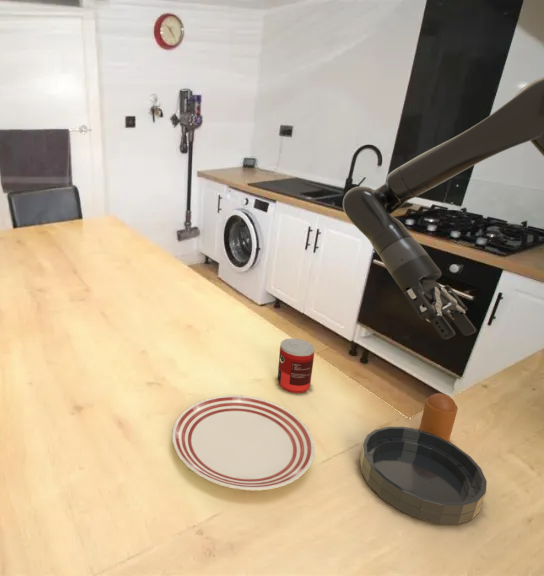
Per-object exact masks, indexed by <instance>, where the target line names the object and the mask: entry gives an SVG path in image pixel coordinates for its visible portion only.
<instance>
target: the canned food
mask: <svg viewBox="0 0 544 576" xmlns="http://www.w3.org/2000/svg"><path fill="white" fill-rule="evenodd" d="M314 357H315V346H314V344H312V343H311V342H309V341H308V340H305V339H301V338H286V339H283V340H281V342H280V346H279V356H278V368H277V384H278V386H279V388H281V389H282V390H284V391H286V392H289V393H292V394H303V393H306V392H308V391H309V389H310V388H311V383H312V373H313V367H314Z"/></svg>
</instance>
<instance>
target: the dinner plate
mask: <svg viewBox="0 0 544 576" xmlns="http://www.w3.org/2000/svg"><path fill="white" fill-rule="evenodd" d="M171 435H172V437H171V438H172V444H173V448H174V450H175V452H176V454H177V456H178V457H179V459H180V461H182V463H183V464H184V465H185V467H187V468H188V469H189V470H191V471H192V472H193V473H195V474H196V475H197V476H200V477H201V478H202V479H205V480H206V481H209V482H211V483H213V484H216V485H218V486H222V487H225V488H230V489H234V490H240V491H269V490H272V489H277V488H281V487H285V486H287V485H289V484H291V483H293V482H295V481H297V480H298V479H300V478H301V477H302V476H304V475H305V474H306V472H308V470H309V468H310V467H311V465H312V463H313V462H314V458H315V453H316V446H315V445H316V444H315V440H314V437H313V435H312V433H311V431H310V430H309V428H308V427H307V425H306V424H305V423H304V422H303V421H302V420H301V418H299V417H298V416H297V415H295V413H293V412H292V411H290V410H289V409H286V408H285V407H283V406H281V405H280V404H277V403H274V402H271V401H269V400H266V399H262V398H259V397H254V396H249V395H234V394H233V395H232V394H231V395H218V396H214V397H209V398H207V399H203V400H200V401H198V402H196V403H193V404H192V405H190V406H189V407H187V408H186V409H185V410H184V411H183V412H181V413H180V415H179V416H178V417H177V419H176V421H175V422H174V425H173V428H172V434H171Z"/></svg>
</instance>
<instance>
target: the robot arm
mask: <svg viewBox="0 0 544 576" xmlns="http://www.w3.org/2000/svg"><path fill="white" fill-rule="evenodd" d="M528 142H530V144H532V145H533V146H534V147H535V148H536V150H537V151H538V152H539V153H540V154H541V155H542V156H543V157H544V76H543V77H541V78H537V79H535V80H533V81H531V82H529V83H528V84H526V85H525V86H523V87H522V88H521V89H520V90H519V91H518V92H517V93H516V94H515V96H513V97H512V98H511V99H510V100H508V101H507V102H505V104H503V105H501V107H499V108H498V109H497V110H495V111H494V112H492V113H491V114H490V115H488V116H487V117H486V118H484V119H482V120H481V121H480V122H478V123H476V124H475V125H473V126H471V127H470V128H468V129H466V130H465V131H463V132H461V133H459V134H457V135H456V136H454V137H452V138H450V139H448V140H446V141H444V142H442V143H440V144H438V145H436V146H434V147H432V148H430V149H428V150H426V151H424V152H423V153H421V154H419V155H417V156H416V157H414V158H412V159H410V160H409V161H407V162H405V163H404V164H402V165H400V166H398V167H397V168H395V169H393V170H392V171H391V172H389V173H388V174H387V176H386V182H384V183H383V184H382V185H380V186H379V187H377V188H375V189H372V188H371V187H368V186H362V185H360V186H354V187H352V188H350V189H349V190H348V191H347V192H346V193H345V194H344V196H343V199H342V209H343V212H344V214H345V215H346V217H347V218H348V219H349V221H350V222H351V223H352V224H353V225H354V226H355V227H356V229H358V230H359V232H361V234H363V236H365V237H366V238H367V240H368V242H369V243H370V244H371V246H372V248H373V249H374V250H375V252H376V253H377V254H378V256H379V257H380V259H381V262H382V263H383V266H384V267H385V268H386V270H387V271H388V273H389V274H390V275H391V277H392V278H393V280H394V282H395V283H396V284H397V286H398V287H399V288H400V290H401V292H402V293H403V295H404V297H405V299H406V300H407V301H408V303H409V305H410V306H411V307H412V309H413V310H414V312H415V313H416V315H417V316H418V318H419V319H420V320H422V321H423V320H426V321H427V323H430V324H431V325H432V327H433V328H434V329H435V331H436V332H437V333H438V335H439V337H440V339H442V340H448V339H451V338H453V337H454V336H456V331H455V330H454V329H453V327H452V326H451V324H450V323H449V322H448V320H447V319H446V317H445V316H443V314H445V315H447V317H449V318H450V319H451V320H452V322H453V323H454V324H455V326H456V327H457V328H458V331H460V333H461V334H462V335H463V336H464V337H467V336H471V335H472V334H475V333H476V332H477V328H476V327H475V326H474V324H473V323H472V321H471V320H470V319H469V318H468V316H467V315H466V311H468V307H467V305H465V304H464V302H463V301H462V300H461V298H460V297H459V296H458V295H457V294H456V292H455V291H454V290H453V288H452V287H451V286H450V285H449V284H446V285H444V286H442V285H440V284H439V282H438V279H440V278H441V276H442V271H441V269H440V268H439V267H438V265H437V264H436V263H435V261H434V260H433V258H432V257H431V256H430V255H429V254H428V252H427V251H426V249H424V247H423V246H422V244H420V243H419V241H417V240H416V239H415V238H414V237H413V236H412V234H411V233H410V231H409V230H408V228H407V227H406V226H405V225H404V223H402V221H400V220H399V219H398V218H396V217H395V216H393V215H392V214H393V213H394V212H395V211H397V210H398V209H400V208H401V207H403V206H404V205H405V204H406V203H407V202H408V201H410V200H412V199H414V198H416V197H419V196H420V195H422V194H424V193H426V192H428V191H430V190H432V189H434V188H436V187H437V186H439V185H441V184H443V183H445V182H447V181H448V180H450V179H452V178H454V177H455V176H457V175H459V174H461V173H462V172H464V171H466V170H468V169H470V168H471V167H473V166H476V165H477V164H479V163H481V162H482V161H485V160H487V159H490V158H491V157H494V156H496V155H497V154H500V153H502V152H505V151H506V150H507V151H508V150H509V149H511V148H514V147H517V146H519V145H522V144H525V143H528Z"/></svg>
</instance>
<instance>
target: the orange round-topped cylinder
mask: <svg viewBox="0 0 544 576" xmlns="http://www.w3.org/2000/svg"><path fill="white" fill-rule="evenodd" d="M457 414H458V406H457V404H456V402H455V400H454V399H453V398H452V397H451V396H449V395H448V394H446V393H443V392H437V393H433V394H431V395H430V396H429V397H426V398H425V403H424V406H423V411H422V414H421V420H420V423H419V428H418V430H422V431H425V432H428V433H430V434H433V435H436V436H439V437H440V438H442V439H444V440H446V441H448V442H450V440H451V435H452V432H453V428H454V425H455V421H456V417H457Z"/></svg>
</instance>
